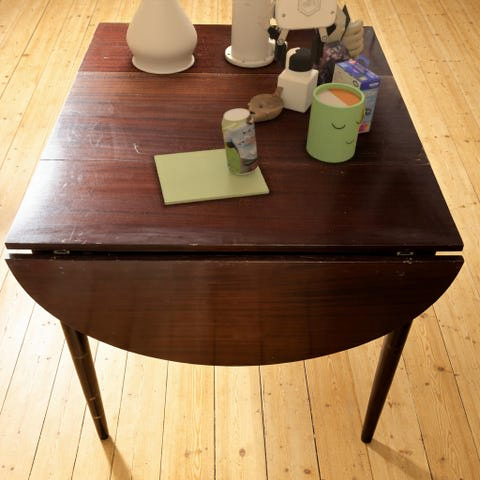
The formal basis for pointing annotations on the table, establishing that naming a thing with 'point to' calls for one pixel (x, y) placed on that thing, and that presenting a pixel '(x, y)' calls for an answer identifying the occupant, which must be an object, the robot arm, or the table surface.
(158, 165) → the mat
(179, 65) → the vase
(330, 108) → the mug
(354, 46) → the decorative object
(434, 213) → the table surface
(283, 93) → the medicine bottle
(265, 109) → the oil lamp
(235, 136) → the beverage can
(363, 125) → the ink cartridge box
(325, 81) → the mineral specimen
